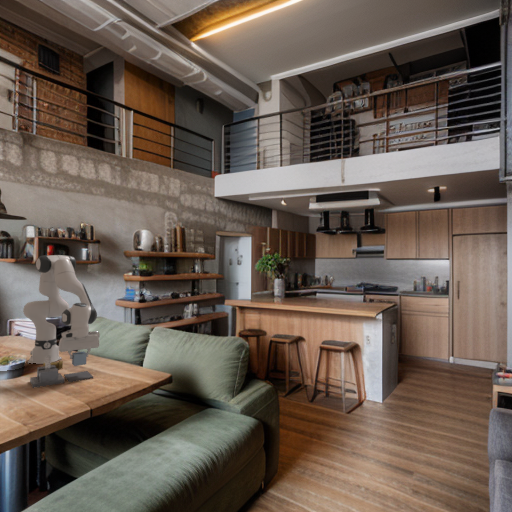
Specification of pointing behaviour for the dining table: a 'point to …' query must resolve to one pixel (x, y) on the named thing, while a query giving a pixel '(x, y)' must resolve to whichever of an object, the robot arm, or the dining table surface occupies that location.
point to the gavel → (56, 364)
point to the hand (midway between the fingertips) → (79, 357)
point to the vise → (47, 375)
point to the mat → (78, 376)
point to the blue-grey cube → (79, 358)
